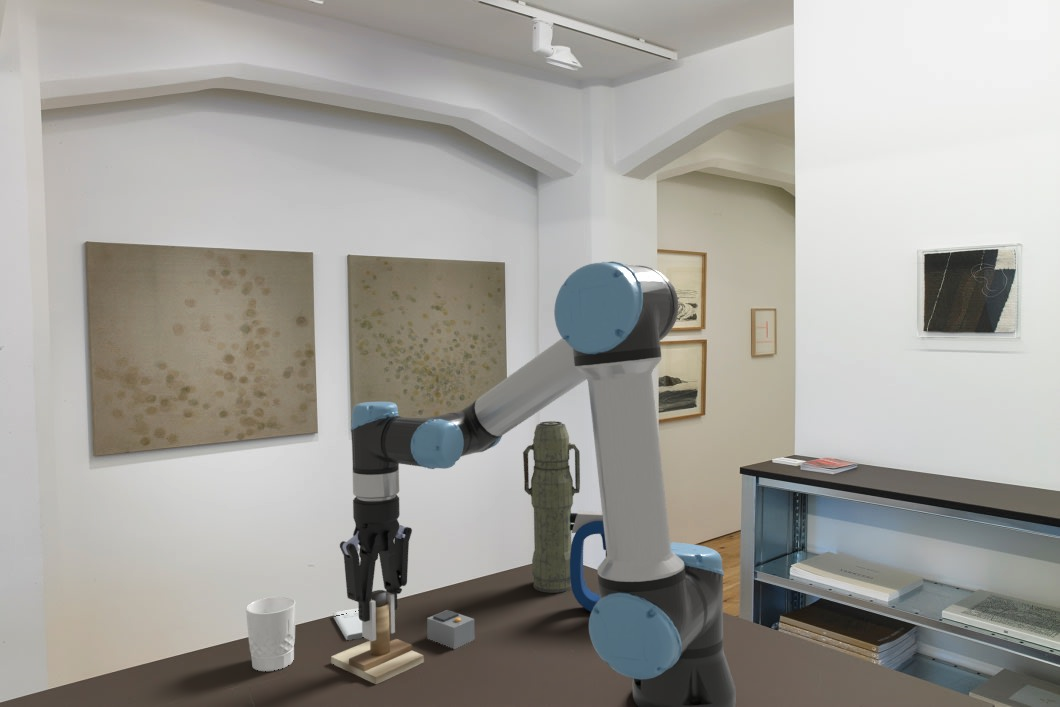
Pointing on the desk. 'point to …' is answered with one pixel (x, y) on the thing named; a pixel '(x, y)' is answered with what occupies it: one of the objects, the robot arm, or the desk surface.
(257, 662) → the white cup
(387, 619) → the peg
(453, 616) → the box
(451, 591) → the desk surface
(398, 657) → the panel
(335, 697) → the desk surface
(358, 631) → the external hard drive
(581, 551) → the handheld scanner
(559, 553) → the thermos
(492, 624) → the desk surface
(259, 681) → the desk surface
